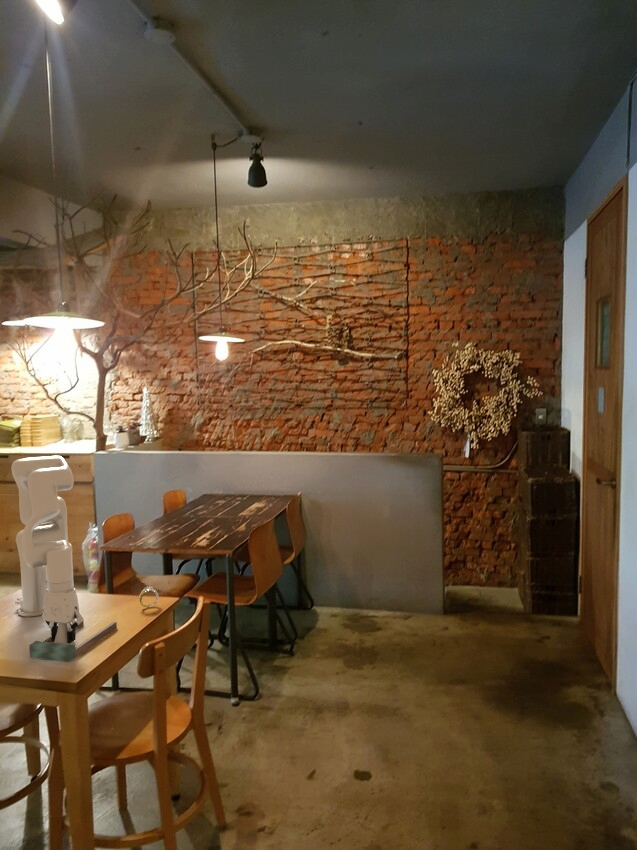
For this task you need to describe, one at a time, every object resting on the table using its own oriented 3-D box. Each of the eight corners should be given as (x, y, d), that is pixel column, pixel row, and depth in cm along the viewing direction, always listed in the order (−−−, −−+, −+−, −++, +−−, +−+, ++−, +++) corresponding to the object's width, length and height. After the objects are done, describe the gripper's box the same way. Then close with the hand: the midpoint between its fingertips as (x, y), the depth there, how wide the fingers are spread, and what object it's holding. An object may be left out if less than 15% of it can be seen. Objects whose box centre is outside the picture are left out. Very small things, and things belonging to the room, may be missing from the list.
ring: (157, 604, 229) (157, 584, 229) (159, 607, 226) (158, 586, 226) (139, 607, 226) (138, 587, 226) (140, 610, 223) (139, 589, 223)
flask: (76, 641, 196) (75, 611, 195) (75, 650, 189) (74, 619, 189) (52, 645, 193) (50, 615, 193) (50, 654, 187) (49, 623, 186)
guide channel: (29, 657, 187) (29, 645, 186) (80, 625, 211) (80, 614, 211) (69, 662, 183) (68, 649, 183) (116, 628, 207) (116, 617, 207)
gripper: (29, 587, 188) (32, 643, 190) (76, 591, 184) (79, 648, 185) (46, 579, 196) (48, 633, 197) (91, 583, 191) (94, 638, 193)
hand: (63, 640), depth 191 cm, fingers closed on flask, 5 cm apart
